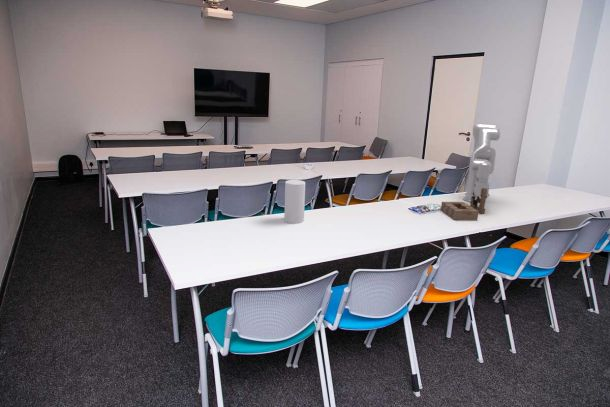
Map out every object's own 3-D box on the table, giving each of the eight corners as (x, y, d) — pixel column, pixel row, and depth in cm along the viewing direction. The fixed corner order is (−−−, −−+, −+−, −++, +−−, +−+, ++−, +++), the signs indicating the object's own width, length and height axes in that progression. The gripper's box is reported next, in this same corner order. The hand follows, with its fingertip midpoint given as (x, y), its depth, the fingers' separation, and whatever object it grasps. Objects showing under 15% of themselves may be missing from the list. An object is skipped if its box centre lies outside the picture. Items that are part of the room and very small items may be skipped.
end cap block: (440, 210, 288) (441, 201, 287) (461, 210, 290) (463, 201, 288) (454, 220, 267) (456, 210, 266) (477, 220, 269) (478, 211, 267)
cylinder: (300, 216, 262) (301, 179, 255) (306, 222, 251) (308, 184, 244) (281, 217, 258) (282, 180, 251) (287, 224, 247) (288, 184, 240)
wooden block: (472, 209, 294) (476, 185, 289) (484, 213, 285) (489, 189, 279) (469, 209, 292) (473, 186, 287) (480, 214, 283) (485, 189, 278)
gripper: (473, 181, 277) (469, 206, 282) (496, 181, 279) (491, 206, 284) (468, 178, 284) (464, 203, 290) (490, 179, 286) (486, 203, 291)
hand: (477, 204), depth 287 cm, fingers closed on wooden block, 4 cm apart
